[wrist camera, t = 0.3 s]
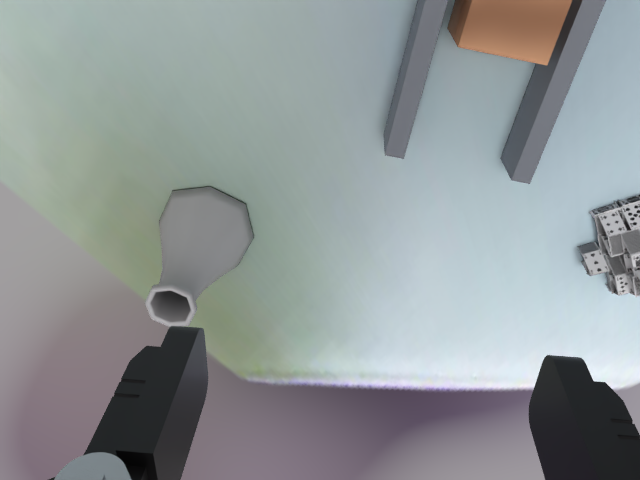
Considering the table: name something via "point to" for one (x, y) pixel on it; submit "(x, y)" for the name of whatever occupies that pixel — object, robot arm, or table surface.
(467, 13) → the terracotta block
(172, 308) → the flask
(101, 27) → the table surface
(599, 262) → the house of cards
